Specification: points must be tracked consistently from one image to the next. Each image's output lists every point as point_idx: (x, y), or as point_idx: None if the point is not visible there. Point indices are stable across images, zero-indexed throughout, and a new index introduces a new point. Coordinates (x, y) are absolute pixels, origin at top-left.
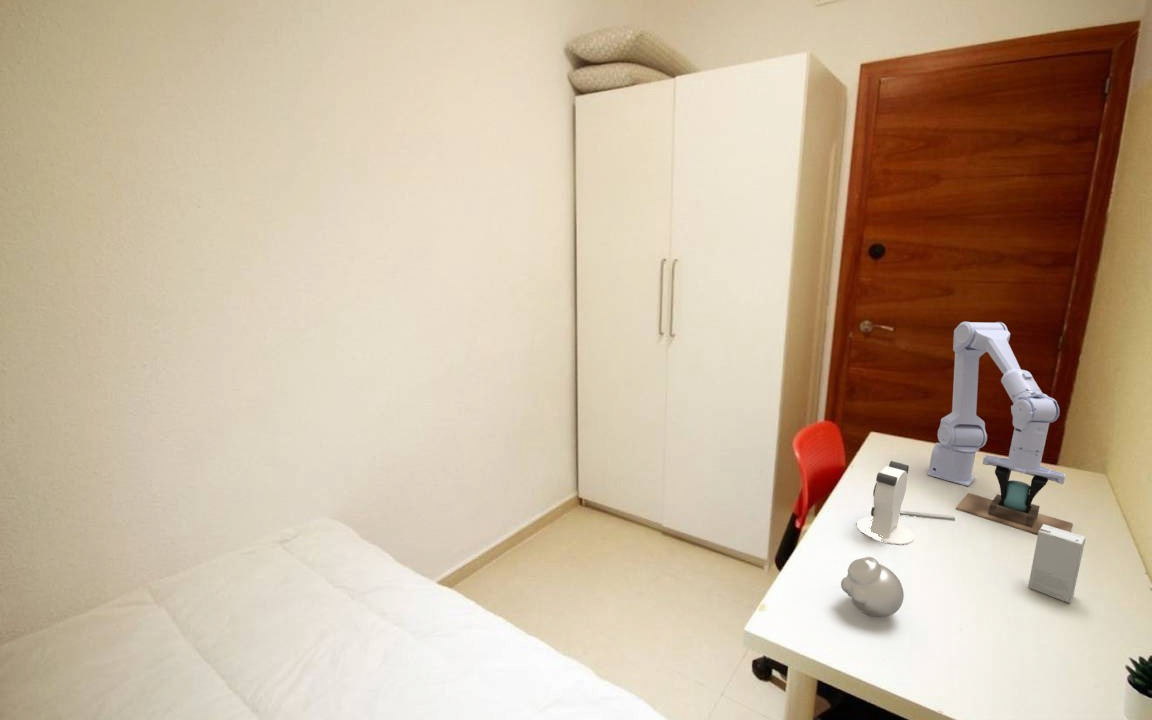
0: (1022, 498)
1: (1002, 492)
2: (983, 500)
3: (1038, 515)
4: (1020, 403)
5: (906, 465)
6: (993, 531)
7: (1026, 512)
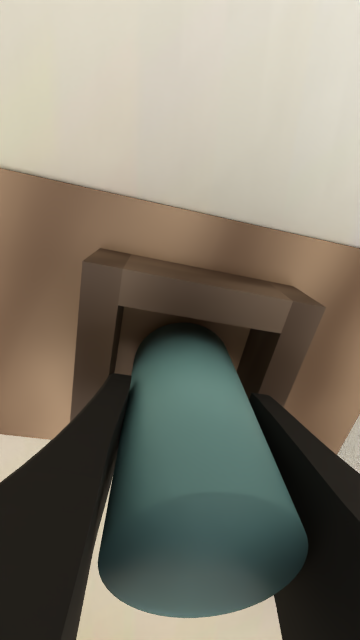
0: (159, 398)
1: (293, 422)
2: None
3: None
4: None
5: None
6: (300, 43)
7: None
